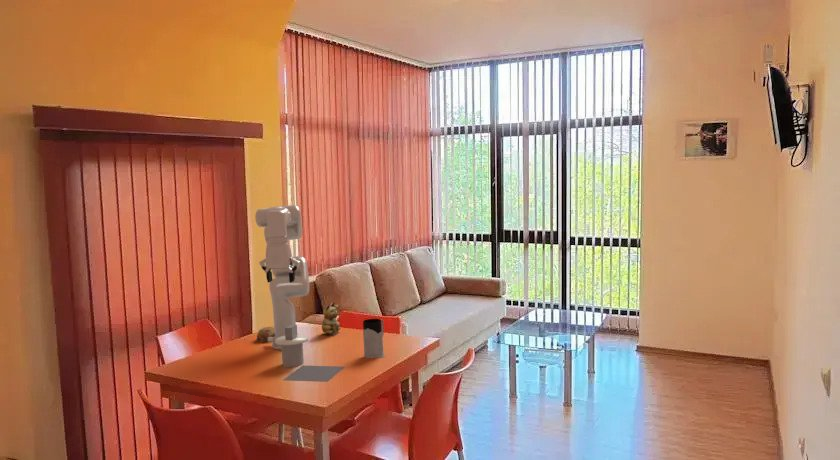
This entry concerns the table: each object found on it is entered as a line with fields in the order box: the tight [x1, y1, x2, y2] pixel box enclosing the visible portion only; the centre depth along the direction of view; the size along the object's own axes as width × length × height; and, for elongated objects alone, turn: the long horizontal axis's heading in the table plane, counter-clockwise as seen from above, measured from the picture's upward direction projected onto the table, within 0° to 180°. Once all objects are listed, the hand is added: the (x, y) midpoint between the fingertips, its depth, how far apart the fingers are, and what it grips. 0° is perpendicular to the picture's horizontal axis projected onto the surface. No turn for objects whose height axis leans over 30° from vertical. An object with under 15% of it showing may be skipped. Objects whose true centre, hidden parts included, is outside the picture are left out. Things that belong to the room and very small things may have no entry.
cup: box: [281, 343, 305, 368], centre depth 254 cm, size 8×8×10 cm
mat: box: [282, 364, 346, 382], centre depth 240 cm, size 18×18×1 cm
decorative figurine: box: [321, 302, 341, 336], centre depth 303 cm, size 10×8×15 cm
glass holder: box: [362, 318, 386, 359], centre depth 263 cm, size 9×14×15 cm, turn 156°
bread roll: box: [256, 326, 275, 343], centre depth 298 cm, size 10×10×8 cm
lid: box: [275, 324, 309, 345], centre depth 253 cm, size 13×13×6 cm
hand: (280, 281), depth 258 cm, fingers open, 9 cm apart
